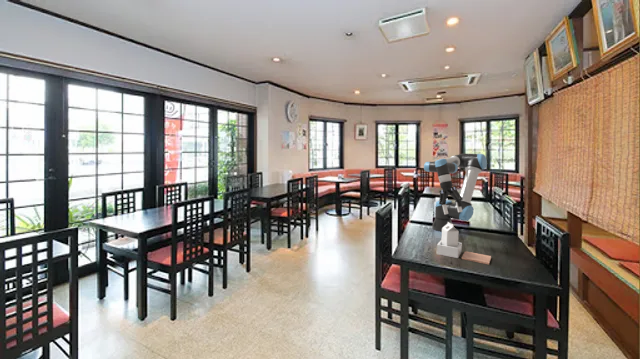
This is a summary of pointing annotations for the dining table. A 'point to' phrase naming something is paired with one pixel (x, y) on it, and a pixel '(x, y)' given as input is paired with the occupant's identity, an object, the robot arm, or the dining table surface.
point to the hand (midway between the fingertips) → (453, 213)
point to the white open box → (449, 250)
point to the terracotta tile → (476, 257)
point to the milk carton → (449, 235)
